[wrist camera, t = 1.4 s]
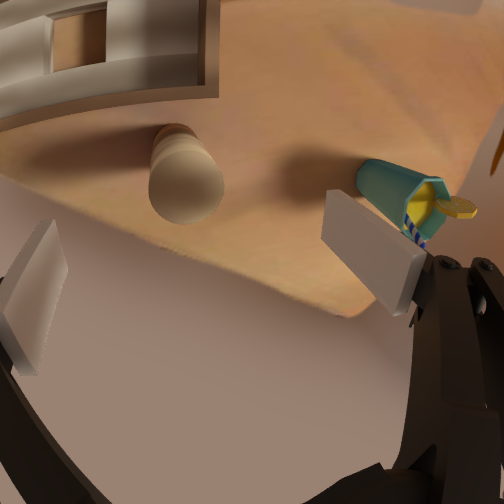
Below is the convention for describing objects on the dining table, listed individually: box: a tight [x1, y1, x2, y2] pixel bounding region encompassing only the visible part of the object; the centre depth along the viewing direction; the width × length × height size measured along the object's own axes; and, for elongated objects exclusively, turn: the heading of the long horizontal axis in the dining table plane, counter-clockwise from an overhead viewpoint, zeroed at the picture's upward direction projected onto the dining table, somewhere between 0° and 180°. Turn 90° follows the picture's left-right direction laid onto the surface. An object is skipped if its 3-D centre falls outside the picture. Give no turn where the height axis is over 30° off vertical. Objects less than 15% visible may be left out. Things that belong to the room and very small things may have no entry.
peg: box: [149, 123, 224, 224], centre depth 24 cm, size 4×4×14 cm
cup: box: [356, 160, 477, 249], centre depth 32 cm, size 14×8×15 cm, turn 113°
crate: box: [0, 0, 220, 132], centre depth 18 cm, size 14×24×8 cm, turn 89°
